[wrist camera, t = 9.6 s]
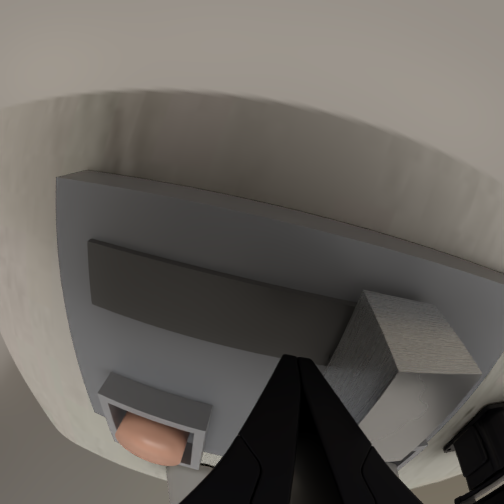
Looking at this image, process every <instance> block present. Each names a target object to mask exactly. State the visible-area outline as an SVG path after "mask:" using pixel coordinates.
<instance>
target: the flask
mask: <svg viewBox="0 0 504 504" xmlns="http://www.w3.org/2000/svg"><path fill="white" fill-rule="evenodd" d="M212 469H213V468H211V467H208V466H202V465H200V466H199V470H196V469H192V468H188V467H185V466H181V465H176V466H167V467H166V473H167V483H168V490H169V499H170V504H178V503H180V502H181V501H182V500H183V499H184V498H185V497H186V496H187V495H188V494H189V493H190V492H191V491H192V490H193V489H194V488H195V487H196V486H197V485H198V484H199V483H200V482H201V481H202V480H203V479H204V478H205V477H206V476H207V475H208V474H209V473H210V471H211V470H212Z"/></svg>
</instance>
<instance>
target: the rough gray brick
mask: <svg viewBox="0 0 504 504" xmlns="http://www.w3.org/2000/svg"><path fill="white" fill-rule="evenodd" d="M481 375H482V372H481V371H480V369H479V367H478V366H477V364H476V363H475V361H474V360H473V358H472V356H471V355H470V353H469V352H468V350H467V349H466V347H465V346H464V345H463V343H462V342H461V340H460V339H459V337H458V336H457V334H456V333H455V332H454V330H453V329H452V327H451V326H450V325H449V323H448V322H447V321H446V319H445V318H444V316H443V315H442V314H441V312H440V311H439V310H438V308H437V307H436V306H435V305H432V304H428V303H423V302H418V301H413V300H409V299H404V298H399V297H395V296H390V295H386V294H381V293H376V292H372V291H367V290H363V291H362V294H361V296H360V298H359V301H358V303H357V305H356V308H355V310H354V312H353V314H352V317H351V319H350V321H349V323H348V325H347V327H346V330H345V332H344V334H343V336H342V338H341V340H340V342H339V344H338V346H337V348H336V350H335V352H334V354H333V356H332V358H331V360H330V362H329V364H328V366H327V368H326V370H325V372H324V373H323V376H324V377H325V379H326V380H327V382H328V383H329V384H330V386H331V387H332V389H333V390H334V392H335V393H336V394H337V396H338V397H339V399H340V400H341V401H342V403H343V404H344V406H345V407H346V408H347V410H348V411H349V413H350V414H351V415H352V417H353V418H354V420H355V421H356V423H357V424H358V425H359V427H360V428H361V429H362V431H363V432H364V434H365V435H366V436H367V438H368V439H369V441H370V442H371V443H372V446H374V447H375V449H376V450H377V452H378V453H379V454H380V456H381V457H382V458H383V460H384V461H385V462H393V461H401V460H402V459H403V458H404V457H406V456H407V455H408V454H409V453H410V452H411V451H412V450H414V449H415V448H416V447H417V446H418V445H419V444H420V443H421V442H422V441H423V440H425V439H426V438H427V437H428V436H429V435H430V434H431V433H432V432H433V431H434V430H435V429H436V428H437V427H438V426H439V425H440V424H441V423H442V422H443V421H444V420H445V418H446V417H447V416H448V415H449V414H450V413H451V412H452V411H453V410H454V409H455V408H456V406H457V405H458V404H459V403H460V402H461V401H462V399H463V398H464V397H465V396H466V395H467V393H468V392H469V391H470V390H471V388H472V387H473V386H474V385H475V383H476V382H477V381H478V379H479V378H480V377H481Z"/></svg>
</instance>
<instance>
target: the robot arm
mask: <svg viewBox="0 0 504 504" xmlns="http://www.w3.org/2000/svg"><path fill="white" fill-rule="evenodd" d="M443 450H444V453H447V452H451V451H455V452H456V455H457V458H458V461H459V464H460V467H461V470H462V473H463V476H464V477H466V480H467V484H468V488H469V491H470V492H468V493H466V494H465V495H463V496H459V497H458V498H456V499H455V504H504V484H503V485H502V486H500V487H499V488H497V489H496V490H494V491H493V492H491V493H489V494H488V495H486V496H485V497H483V498H481V499H480V500H478V501H475V499H476V498H477V497H479V496H480V495H482V494H484V493H486V492H487V491H489V490H490V489H492V488H493V487H495V486H496V485H498V484H499V483H501V482H502V481H504V403H500V404H494V405H488V406H486V407H485V408H483V409H482V411H481V412H480V413H479V414H478V415H477V416H476V417H475V418H474V419H473V420H472V421H471V422H470V423H469V424H468V425H467V426H466V427H465V428H464V429H463V430H462V431H461V432H460V433H459V434H458V435H457V436H456V437H455V438H454V439H453V440H452V441H451V442H450V443H449V444H448V445H447V446H445V447H444V448H443ZM178 504H423V503H422V502H421V501H420V500H419V499H418V498H417V497H416V496H415V495H414V494H413V493H412V492H411V491H410V490H409V488H408V487H407V486H406V485H405V484H404V483H403V482H402V481H401V480H400V479H399V478H398V477H397V475H396V474H395V473H394V472H393V471H392V470H391V469H390V467H389V466H388V465H387V463H386V462H385V461H384V460H383V458H382V457H381V456H380V454H379V453H378V452H377V450H376V449H375V447H374V446H372V443H371V442H370V441H369V439H368V438H367V436H366V435H365V434H364V432H363V431H362V429H361V428H360V427H359V425H358V424H357V423H356V421H355V420H354V418H353V417H352V415H351V414H350V413H349V411H348V410H347V408H346V407H345V406H344V404H343V403H342V401H341V400H340V399H339V397H338V396H337V394H336V393H335V392H334V390H333V389H332V387H331V386H330V384H329V383H328V382H327V380H326V379H325V377H324V376H323V374H322V373H321V372H320V370H319V369H318V367H317V366H316V364H315V363H314V362H313V360H312V359H310V358H305V357H296V356H294V355H288V354H283V355H282V357H281V359H280V360H279V362H278V364H277V366H276V368H275V370H274V372H273V374H272V375H271V377H270V379H269V381H268V383H267V385H266V386H265V388H264V390H263V392H262V393H261V395H260V397H259V399H258V401H257V402H256V404H255V406H254V407H253V409H252V411H251V413H250V414H249V416H248V418H247V419H246V421H245V423H244V424H243V426H242V428H241V429H240V431H239V433H238V435H237V436H236V437H235V439H234V441H233V442H232V444H231V445H230V447H229V448H228V450H227V451H226V453H225V454H224V455H223V457H222V458H221V460H220V461H219V462H218V463H217V465H216V466H215V467H214V468H213V469H212V470H211V471H210V473H209V474H208V475H207V476H206V477H205V478H204V479H203V480H202V481H201V482H200V483H199V484H198V485H197V486H196V487H195V488H194V489H193V490H192V491H191V492H190V493H189V494H188V495H187V496H186V497H185V498H184V499H183V500H182V501H181V502H180V503H178Z"/></svg>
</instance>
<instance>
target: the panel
mask: <svg viewBox="0 0 504 504" xmlns="http://www.w3.org/2000/svg"><path fill="white" fill-rule="evenodd" d="M56 229H57V245H58V257H59V267H60V275H61V283H62V290H63V296H64V302H65V308H66V313H67V318H68V323H69V328H70V332H71V337H72V341H73V345H74V349H75V353H76V357H77V360H78V364H79V367H80V371H81V374H82V377H83V380H84V384H85V387H86V390H87V393H88V395H89V398H90V401H91V404H92V407H93V409H94V412H95V413H97V414H100V415H102V416H104V417H105V418H106V421H107V423H108V426H109V429H110V431H111V434H112V436H113V439H114V441H115V442H117V443H119V442H118V441H117V439H116V437H115V433H116V431H117V429H118V427H119V425H120V424H121V422H122V420H123V418H124V416H125V414H126V412H127V411H129V412H131V413H134V414H136V415H139V416H141V417H144V418H147V419H150V420H152V421H155V422H158V423H161V424H164V425H167V426H170V427H174V428H177V429H180V430H184V431H187V432H190V434H189V437H188V440H187V443H186V447H185V450H184V453H183V456H182V459H181V462H180V464H178V465H181V466H185V467H188V468H192V469H196V470H199V466H200V463H201V459H202V455H203V452H207V453H211V454H216V455H220V456H223V455H224V454H225V453H226V451H227V450H228V448H229V447H230V445H231V444H232V442H233V441H234V439H235V437H236V436H237V435H238V433H239V431H240V429H241V428H242V426H243V424H244V423H245V421H246V419H247V418H248V416H249V414H250V413H251V411H252V409H253V407H254V406H255V404H256V402H257V401H258V399H259V397H260V395H261V393H262V392H263V390H264V388H265V386H266V385H267V383H268V381H269V379H270V377H271V375H272V374H273V372H274V370H275V368H276V366H277V364H278V362H279V360H280V359H281V357H282V355H283V354H288V355H294V356H296V357H305V358H310V359H312V360H313V362H314V363H315V364H316V366H317V367H318V369H319V370H320V372H321V373H322V374H323V373H324V372H325V370H326V368H327V366H328V364H329V362H330V360H331V358H332V356H333V354H334V352H335V350H336V348H337V346H338V344H339V342H340V340H341V338H342V336H343V334H344V332H345V330H346V327H347V325H348V323H349V321H350V319H351V317H352V314H353V312H354V310H355V308H356V305H357V303H358V301H359V298H360V296H361V294H362V291H363V290H367V291H372V292H376V293H381V294H386V295H390V296H395V297H399V298H404V299H409V300H413V301H418V302H423V303H428V304H432V305H435V306H436V307H437V308H438V310H439V311H440V312H441V314H442V315H443V316H444V318H445V319H446V321H447V322H448V323H449V325H450V326H451V327H452V329H453V330H454V332H455V333H456V334H457V336H458V337H459V339H460V340H461V342H462V343H463V345H464V346H465V347H466V349H467V350H468V352H469V353H470V355H471V356H472V358H473V360H474V361H475V363H476V364H477V366H478V367H479V369H480V371H481V372H482V375H481V377H480V378H479V379H478V381H477V382H476V383H475V385H474V386H473V387H472V388H471V390H470V391H469V392H468V393H467V395H466V396H465V397H464V398H463V399H462V401H461V402H460V403H459V404H458V405H457V406H456V408H455V409H454V410H453V411H452V412H451V413H450V414H449V415H448V416H447V417H446V418H445V420H444V421H443V422H442V423H441V424H440V425H439V426H438V427H437V428H436V429H435V430H434V431H433V432H432V433H431V434H430V435H429V436H428V437H427V438H426V439H425V440H423V441H422V442H421V443H420V444H419V445H418V446H417V447H416V448H415V449H414V450H412V451H411V452H410V453H409V454H408V455H407V456H406V457H404V458H403V459H402V460H401V461H393V462H386V463H393V464H396V466H397V470H399V469H400V468H402V467H403V466H404V465H406V464H407V463H408V462H409V461H410V460H412V459H413V458H414V457H415V456H416V455H418V454H419V453H420V452H421V451H422V450H423V449H425V448H426V447H427V446H428V444H427V442H428V441H429V440H430V439H431V438H432V437H433V436H434V435H435V434H436V433H437V432H438V431H439V430H440V429H441V428H442V427H443V426H444V425H445V424H446V423H447V422H448V421H449V420H450V419H451V418H452V417H453V416H454V414H455V413H456V412H457V411H458V410H459V409H460V408H461V407H462V406H463V404H464V403H465V402H466V401H467V400H468V399H469V397H470V396H471V395H472V394H473V392H474V391H475V390H476V389H477V388H478V386H479V385H480V384H481V382H482V381H483V380H484V378H485V377H486V376H487V374H488V373H489V372H490V370H491V369H492V368H493V366H494V365H495V363H496V362H497V360H498V359H499V357H500V356H501V354H502V353H503V351H504V274H502V273H499V272H497V271H494V270H491V269H489V268H486V267H483V266H481V265H478V264H475V263H472V262H469V261H466V260H464V259H461V258H458V257H455V256H452V255H449V254H446V253H443V252H440V251H437V250H434V249H431V248H428V247H425V246H422V245H418V244H415V243H412V242H409V241H406V240H402V239H399V238H396V237H392V236H389V235H386V234H382V233H379V232H375V231H372V230H368V229H365V228H361V227H358V226H354V225H350V224H347V223H343V222H339V221H336V220H332V219H328V218H324V217H320V216H317V215H313V214H309V213H305V212H301V211H297V210H293V209H288V208H284V207H280V206H276V205H272V204H267V203H263V202H259V201H254V200H250V199H245V198H241V197H236V196H231V195H227V194H222V193H217V192H212V191H207V190H202V189H197V188H192V187H187V186H181V185H176V184H170V183H165V182H159V181H153V180H148V179H142V178H136V177H129V176H123V175H117V174H110V173H103V172H96V171H89V170H84V171H80V172H76V173H71V174H67V175H63V176H59V177H56Z"/></svg>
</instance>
